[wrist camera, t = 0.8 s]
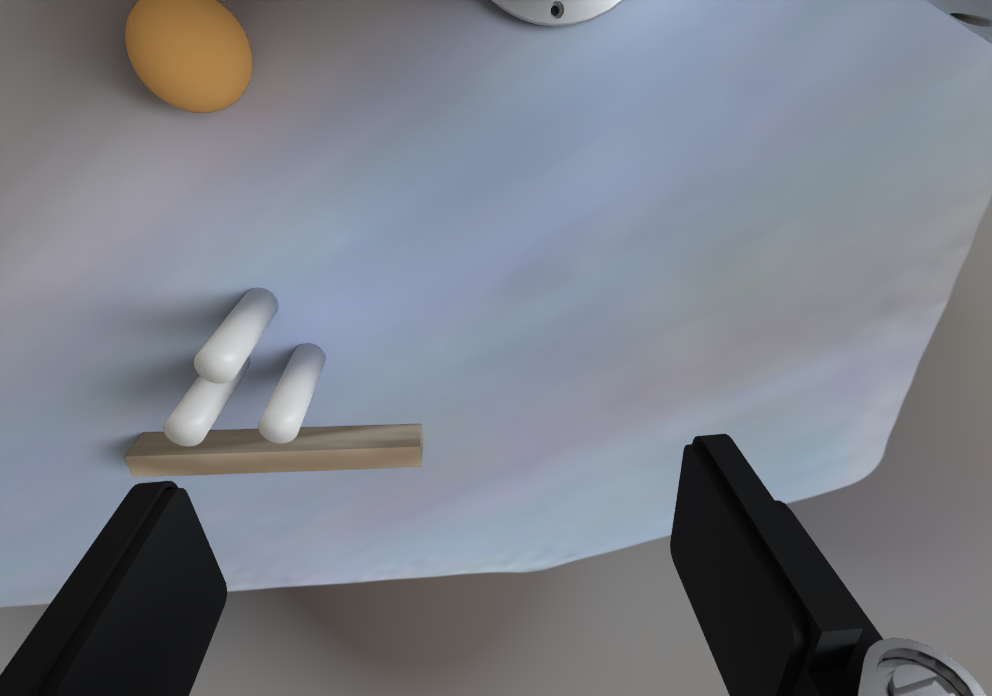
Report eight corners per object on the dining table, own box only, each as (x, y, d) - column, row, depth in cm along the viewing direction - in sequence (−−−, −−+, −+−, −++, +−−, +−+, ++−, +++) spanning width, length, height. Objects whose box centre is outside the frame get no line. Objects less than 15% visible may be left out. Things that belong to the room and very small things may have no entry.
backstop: (143, 432, 45) (124, 456, 42) (421, 424, 46) (420, 446, 44) (150, 452, 46) (131, 477, 43) (422, 443, 47) (421, 466, 45)
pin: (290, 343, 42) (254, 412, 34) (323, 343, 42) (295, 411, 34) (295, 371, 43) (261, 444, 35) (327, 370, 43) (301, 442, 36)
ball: (144, -11, 31) (83, -22, 26) (255, -8, 32) (217, -18, 26) (171, 106, 34) (121, 118, 29) (273, 108, 35) (242, 119, 29)
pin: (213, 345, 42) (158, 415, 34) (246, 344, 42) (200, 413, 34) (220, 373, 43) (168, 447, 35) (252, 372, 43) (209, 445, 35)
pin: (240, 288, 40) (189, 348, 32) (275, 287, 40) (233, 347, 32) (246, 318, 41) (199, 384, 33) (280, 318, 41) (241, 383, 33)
